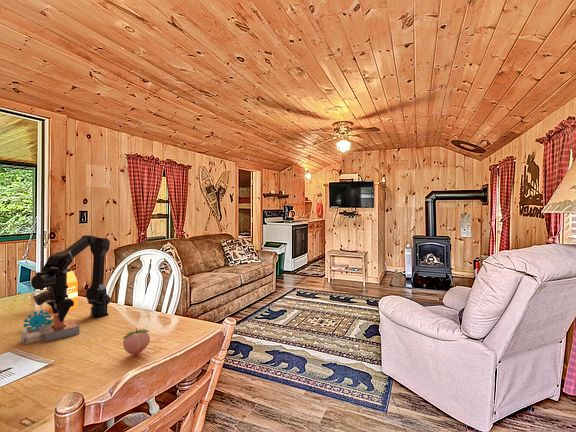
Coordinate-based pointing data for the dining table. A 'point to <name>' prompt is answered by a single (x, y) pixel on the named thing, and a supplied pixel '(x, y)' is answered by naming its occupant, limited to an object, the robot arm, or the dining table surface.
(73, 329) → the grey square hole block
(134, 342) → the decorative fruit
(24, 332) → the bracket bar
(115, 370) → the dining table surface
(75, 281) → the orange juice
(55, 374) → the dining table surface
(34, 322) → the gear
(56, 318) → the terracotta rectangular prism
